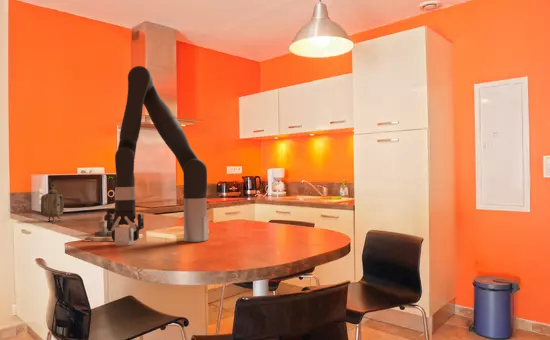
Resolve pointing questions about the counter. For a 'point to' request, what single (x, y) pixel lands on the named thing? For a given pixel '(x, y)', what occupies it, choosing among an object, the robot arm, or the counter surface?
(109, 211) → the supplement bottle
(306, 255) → the counter surface
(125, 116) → the robot arm
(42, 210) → the tabletop clock
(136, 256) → the counter surface
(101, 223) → the ratchet board
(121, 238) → the grey block
